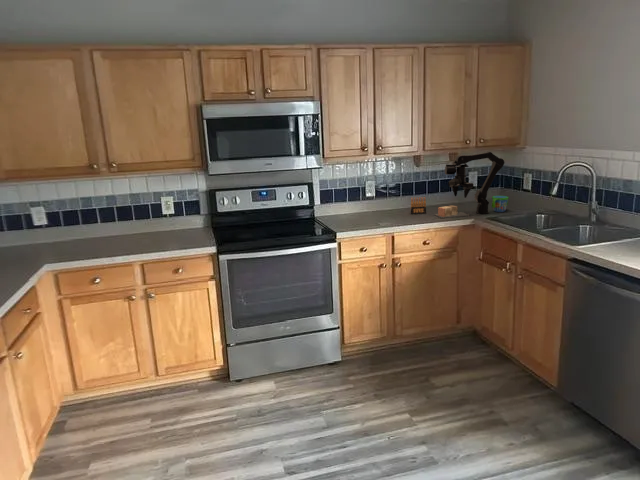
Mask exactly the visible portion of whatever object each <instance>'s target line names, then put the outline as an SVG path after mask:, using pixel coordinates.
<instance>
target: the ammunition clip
mask: <svg viewBox="0 0 640 480" xmlns="http://www.w3.org/2000/svg"><path fill="white" fill-rule="evenodd" d="M426 201H427V200H426V197H425V196H424V197H423V196H421V197H420V196H419V197H411V201H410V215H426V214H427V202H426Z"/></svg>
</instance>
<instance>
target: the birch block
mask: <svg viewBox="0 0 640 480" xmlns="http://www.w3.org/2000/svg"><path fill="white" fill-rule="evenodd" d="M458 207H459V206H458V205H448V206H447V205H446V206H439V207H438V208H437V214H438V216H442V217H445V216H451V215H457V212H459V211H458Z"/></svg>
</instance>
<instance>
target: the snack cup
mask: <svg viewBox="0 0 640 480" xmlns="http://www.w3.org/2000/svg"><path fill="white" fill-rule="evenodd" d="M491 199H492V201H491V208H493V211H494V212H497V213H503V212H506V209H507V206H508V205H509V196H506V195H493V196H492V197H491Z"/></svg>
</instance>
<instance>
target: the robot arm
mask: <svg viewBox="0 0 640 480" xmlns="http://www.w3.org/2000/svg"><path fill="white" fill-rule="evenodd" d="M484 159H488V161H490V162H491V167H490V171H489V173H488V174H487V177H486V179H485V181H484V183H483V184H482V186H481V188H480V189H479V190H478V189H477V190H476V192H475V193H474V201H476V202H477V205H476V212H475V213H476V214H479V215H486V214H487V215H488V214H490V212H489V204H490V201H488V200H487V197H488V191H489V189H490V187H491V185H492V183H493V181H494V179H495V178H496V175H497V174H498V172H499V171H500V170H502V168H503V167H504V165H505V163H506V162H505V160H504V159H503V158H501V157H499V156H497V155H495V154H494V153H493V152H492V151H486V152H485V151H484V152H481V153H480V152H479V153H474V154H458V155H457V156H456V157H455V160H454V162H453V163H452V164H448V163H447V164H445V167H444V175H448V176H449V175H454V178H452V179H450V180H449V181H448V183H447V186H448V187H449V188H451V189H452V192H453V195H454V197H457V195H458V190H459V187H462V189H463V195H464V198H467V196H468V195H469V193H470V191H471V190H472V189H473V188H474V182H467V181H466V178H467V177H468V176H467V174H466V168H468V167H469V165H468V164H467V163H470V162H472V161H479V160H484ZM455 174H456V175H455Z"/></svg>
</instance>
